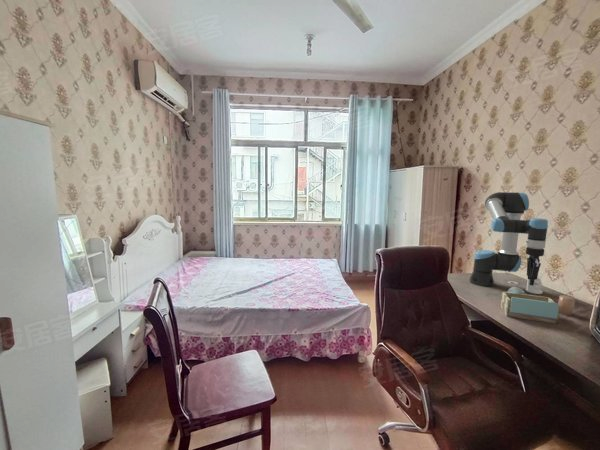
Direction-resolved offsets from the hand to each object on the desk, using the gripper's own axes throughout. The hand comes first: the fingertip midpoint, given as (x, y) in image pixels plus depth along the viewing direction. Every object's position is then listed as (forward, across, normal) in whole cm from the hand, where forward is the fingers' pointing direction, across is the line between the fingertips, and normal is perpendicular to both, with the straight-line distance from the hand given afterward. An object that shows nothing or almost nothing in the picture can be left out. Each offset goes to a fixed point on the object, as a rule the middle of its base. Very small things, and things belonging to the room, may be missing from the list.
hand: (529, 290), depth 159 cm
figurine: (+13, -44, +15) cm, 48 cm away
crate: (+14, 0, 0) cm, 14 cm away
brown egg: (+13, -10, +20) cm, 26 cm away
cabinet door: (+11, +8, 0) cm, 14 cm away
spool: (+14, -19, -1) cm, 23 cm away
